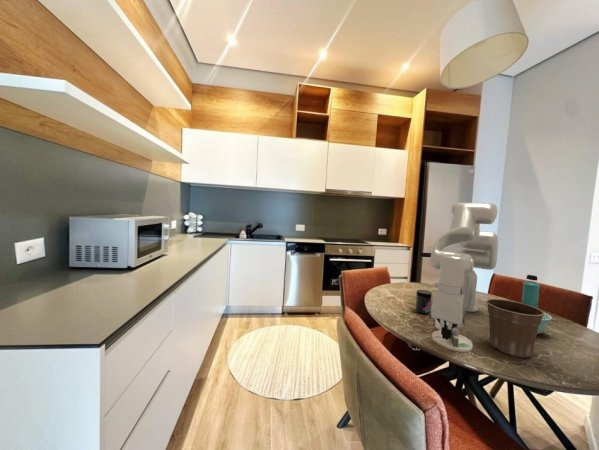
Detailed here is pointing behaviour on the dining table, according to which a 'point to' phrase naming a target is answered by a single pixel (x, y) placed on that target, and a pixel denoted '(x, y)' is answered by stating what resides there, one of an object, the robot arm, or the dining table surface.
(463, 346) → the dial plate
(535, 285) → the beverage bottle
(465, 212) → the robot arm
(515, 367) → the dining table surface
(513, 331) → the plant pot
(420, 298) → the supplement container
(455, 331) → the friction peg
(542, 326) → the bowl
